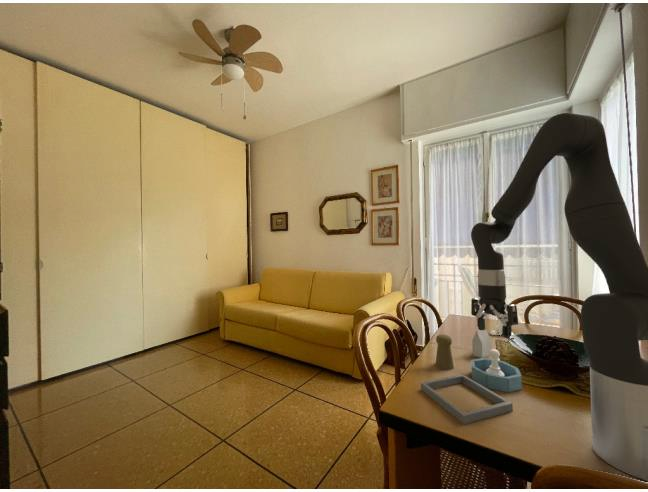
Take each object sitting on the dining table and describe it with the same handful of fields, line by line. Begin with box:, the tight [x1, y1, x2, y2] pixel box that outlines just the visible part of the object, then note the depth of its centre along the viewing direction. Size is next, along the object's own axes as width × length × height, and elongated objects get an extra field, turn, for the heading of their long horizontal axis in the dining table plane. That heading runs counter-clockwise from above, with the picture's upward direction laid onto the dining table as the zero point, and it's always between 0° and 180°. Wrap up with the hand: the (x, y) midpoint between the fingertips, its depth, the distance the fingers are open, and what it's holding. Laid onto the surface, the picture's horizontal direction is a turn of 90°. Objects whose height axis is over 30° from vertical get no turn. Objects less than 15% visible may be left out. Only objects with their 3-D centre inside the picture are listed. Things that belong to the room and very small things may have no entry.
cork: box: [435, 334, 454, 371], centre depth 91 cm, size 6×6×11 cm
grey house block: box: [471, 327, 492, 359], centre depth 99 cm, size 4×7×10 cm, turn 122°
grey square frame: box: [420, 374, 514, 425], centre depth 70 cm, size 16×16×2 cm
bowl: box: [470, 357, 523, 393], centre depth 80 cm, size 13×13×4 cm
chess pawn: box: [486, 348, 505, 376], centre depth 80 cm, size 5×5×9 cm
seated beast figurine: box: [489, 311, 515, 336], centre depth 121 cm, size 10×9×12 cm
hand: (493, 333), depth 80 cm, fingers open, 8 cm apart
